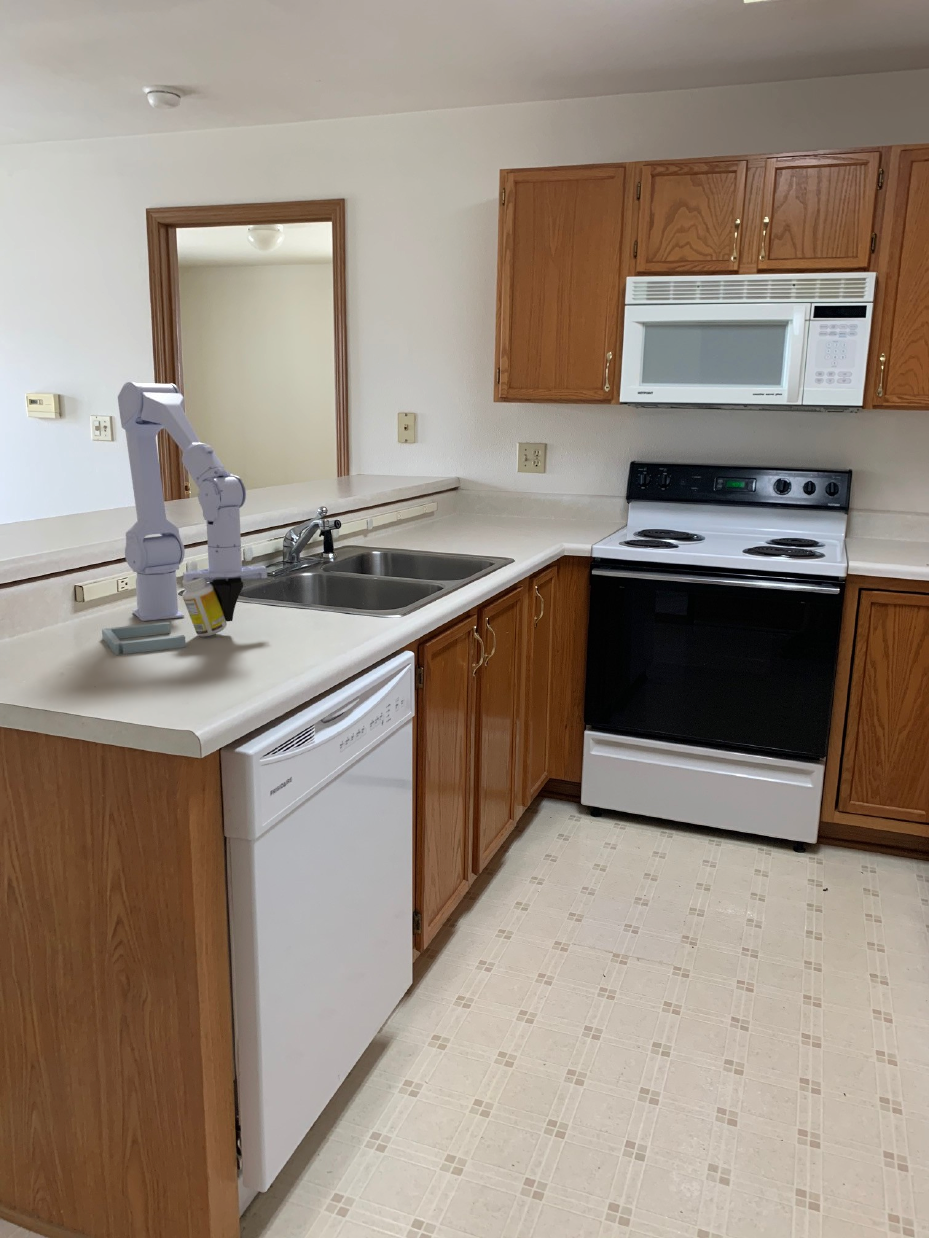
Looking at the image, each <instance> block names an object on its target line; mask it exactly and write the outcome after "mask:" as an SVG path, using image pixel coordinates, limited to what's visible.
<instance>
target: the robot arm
mask: <svg viewBox="0 0 929 1238" xmlns="http://www.w3.org/2000/svg"><path fill="white" fill-rule="evenodd" d="M117 403H118V411H119V417H120V418H119V419H120V424H121V428H122V429H123V430H125V438H126V445H127V446H126V447H127V452H128V460H129V467H130V474H131V475H130V476H131V482H132V489H133V496H134V498H133V499H134V504H135V511H136V518H137V521H136V522H135V523H134V524H133V525H132V526H131V527H130V528H129V529H128V530H127V531H126V532H125V549H124V556H125V557H124V558H125V561H126V563H127V565H128V566H129V568H130V569H131V570H132V572H133V573H136V578H135V591H136V592H135V593H136V605H137V608H135V609H132V610H131V611H132V613H133V614H134V615H135V616H137V618H138V619H139V620H141V621H142V622H143V621H144V622H145V621H146V622H147V621H157V620H167V619H176V618H184V617H185V614H184V613H183V612H181V611H180V610H179V602H178V601H179V600H178V587H177V586H178V584H177V571H178V570H180V565H181V564H182V563H183V562H184V558H185V554H186V551H185V545H184V542H183V541H182V539H181V535H180V531H179V530H180V529H179V527H178V526H176V525H175V524H173V522H171V521H170V520H169V519H167V516H166V515H167V513H166V508H165V507H166V506H165V498H164V491H163V483H162V482H163V481H162V477H161V468H160V467H161V466H160V461H159V453H158V446H157V435H158V434H159V432H160V430H163V429H165V430H166V432H167V433H168V434H169V436H170V437H171V438H172V440H173V441H174V442H175V443H176V445H177V446H178V447H179V449H180V450H181V452H182V453H183V454H182V457H181V462H182V465H184V468H185V469H186V471H187V472H188V474H189V475H190V477H191V479H192V480H193V481H194V483H195V484H196V487H198V492H197V500H198V502H199V504H200V507H201V510H202V517H203V518H204V519H203V520H205V521H206V535H207V536H206V537H207V538H206V539H207V555H208V557H207V558H208V568H206V569H200V570H198V569H197V570H194V571H193V570H191V571H185V572H182V576H183V580H182V581H185V582H189V581H192V579H194V578H205V579H206V580H207V583H208V584H212V585H213V587H214V590H215V592H216V595H217V598H218V601H219V603H220V606H221V609H222V611H223V614H224V617H225V620H226V622H233V618H234V613H235V609H236V604H237V602H238V599H239V596H240V594H241V592H242V590H243V588H244V581H242V580H248V579H250V580H251V579H267V578H268V570H267V569H268V568H267V567H266V566H264V565H261V566H243V564H242V563H243V562H242V557H243V556H242V541H241V539H242V538H241V537H242V536H241V518H240V517H241V515H240V514H241V511H240V508H242V507H243V506H244V504H245V502H246V499H247V491H246V487H245V485H244V484H245V483H244V482H243V480H242V478H241V477H240V476H238V475H235V474H233V473H232V472H230V471H227V469H226V468H225V466H224V464H223V463H222V461H221V460H220V459H219V457H218V456H217V454H216V452H215V450H214V449H213V447H212V446H211V445H209V444H208V443H203V442H201V441H200V439H199V437H198V436H197V434H196V431H195V429H194V428H193V426H192V424H191V422H190V419H189V418H188V417H187V414H186V413H185V411H184V408H185V398H184V396H183V394H181V391H180V389H179V387H178V386H177V385H176V384H174V383H171V382H170V383H169V382H168V383H146V382H145V383H144V382H143V383H142V382H141V383H140V382H134V381H127V382H125V383H124V384H123V386H122V387H121V389H120V391H119V393H118V395H117ZM149 535H150V537H147V536H149ZM151 535H158V536H151Z"/></svg>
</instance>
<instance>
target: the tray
mask: <svg viewBox="0 0 929 1238" xmlns="http://www.w3.org/2000/svg"><path fill="white" fill-rule="evenodd" d="M101 634H102V640H103V641H104V642H105V644H106V645H107V646H108V648H109V649H110V650H111V651H112V653H113V654H114V655H115V656H118V655H120V656H121V655H127V654H135V653H144V652H145V653H146V652H154V651H160V650H162V651H163V650H169V649H178V648H186V646H187V645H186V644H187V642H186V641H187V640H186V636H185V635H183V634H182V635H172V636H163V637H156V638H155V637H154V638H152V637H151V638H145V639H143V638H142V639H137V640H135V639H134V640H126V641H121V639H128V638H138V637H145V636H146V637H148V636H156V635H165V634H171V623H170V622H169V621H166V622H165V621H164V622H155V623H147V624H146V623H145V624H138V625H137V624H136V625H126V626H116V627H106V628H102V629H101Z"/></svg>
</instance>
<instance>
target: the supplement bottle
mask: <svg viewBox="0 0 929 1238" xmlns="http://www.w3.org/2000/svg"><path fill="white" fill-rule="evenodd" d="M182 586H183V590H184V591H183V593H182V599H183V602H184V604H185V607H186V610H187V612H188V616H189V618H190V619H191V623H192V624H193V628H194V630H195V633H196V635H197V636H199V637H208V636H209V637H210V636H212V635H215V634H218V633H220V632H222V631H223V630H225V629H226V628H227V625H228V624H227V621H226V620H225V617H224V614H223V611H222V609H221V606H220V603H219V601H218V598H217V595H216V592H215V590H214V587H213V585H212V584H210V583H209V582H207V580H206V579H205V578H194V579H192V581H189V582H185V581H184V580H182Z"/></svg>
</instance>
